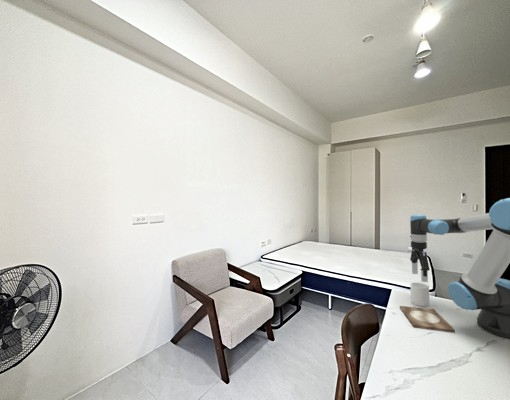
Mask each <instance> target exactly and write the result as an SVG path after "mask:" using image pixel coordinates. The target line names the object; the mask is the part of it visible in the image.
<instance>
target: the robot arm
mask: <svg viewBox="0 0 510 400" xmlns="http://www.w3.org/2000/svg"><path fill="white" fill-rule="evenodd" d="M409 220H410V221H409V222H410V223H409V224H410V236H409V238H410V240H411V241H410V247H411V254H410V262H411V274H412V275H418V274H419V272H418V271H419V270H418V269H419V268H418V266H419V265H418V264H420V267H421V268H420V272H421V273H420V278H421V280H420V281H421V283H428V280H429V279H428V277H429V276H428V273H429V272H428V271H430V266H429V265H430V264H429V261H428V255H427V252H426V251H424V250H427V248H428V243H427V241H428V236H427V234H433V235H439V236H442V235H443V236H444V235H446V234H464V233H470V232H478V231H487V230H488V231H489V230H492V231H491V234H490V235H489V237H488V239H487V240H486V242H485V244H484V245H483V247H482V249H481V251H480V253H478V256H477V258H476V260H475V261H474V263H473V264H472V266H471V268H470V270H469V271H468V272H464V273H462V274H461V275H460V277H459V279H458V281H451V282H449V284H448V286H447V292H448V295H449V298H450V299H451V301H452V302H453V303H454V304H455V305H457V306H458V307H459V308H461V309H463V310H466V311H469V310H470V311H476V310H477V311H478V310H479V313H478V316H477V318H476V325H477V326H478V327H479V328H480V329H482V330H484V331H486V332H488V333H490V334H493V335H495V336H499V337H501V338H506V339H510V280H508V279H505V278H501V277H502V275H503V274H504V273H505V271H506V269H507V268H508V266H509V264H510V197H507V198H503V199H499V200H498V201H496V202H494V204H493V205H492V206H491V207H490V208H489V212H487V213H482V214H475V215H471V216H470V215H469V216H464V217H458V218H451V219H450V218H449V219H448V218H447V219H446V218H445V219H428V218H427V216H426V215H425V214H411V215H410V218H409ZM418 260H419V262H418Z"/></svg>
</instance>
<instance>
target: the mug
mask: <svg viewBox="0 0 510 400" xmlns="http://www.w3.org/2000/svg"><path fill="white" fill-rule="evenodd" d="M410 302H411V304H413V305H415V306H417V307H420V308H427V307H429V306H430V303H431V302H430V286H429V285H427V284H425V283H423V282H410Z"/></svg>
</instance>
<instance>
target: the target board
mask: <svg viewBox="0 0 510 400" xmlns="http://www.w3.org/2000/svg"><path fill="white" fill-rule="evenodd" d="M399 309H400V310H401V312H402V313H403V314H404V316H405V317H406V319H407V320H408V322H409V323H410V325H411V326H412V327H413V329H415V328H416V329H424V330H430V331H438V332H439V331H440V332H447V333H454V334H455V333H456V330H455V329H454V327H453V326H452V325H451V324H449V322H448V321H447V320H446V319H444V318H443V316H441V314H440V313H439V312H437V311H436V310H435V309H433V308H427V307H418V306H417V307H415V306H413V307H412V306H405V305H399Z"/></svg>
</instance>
